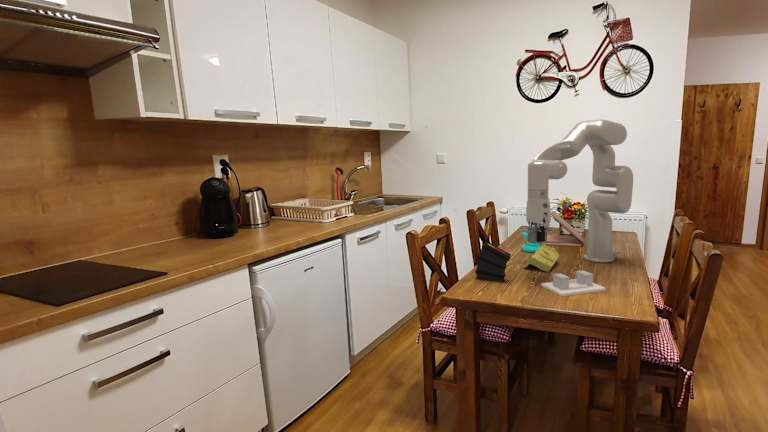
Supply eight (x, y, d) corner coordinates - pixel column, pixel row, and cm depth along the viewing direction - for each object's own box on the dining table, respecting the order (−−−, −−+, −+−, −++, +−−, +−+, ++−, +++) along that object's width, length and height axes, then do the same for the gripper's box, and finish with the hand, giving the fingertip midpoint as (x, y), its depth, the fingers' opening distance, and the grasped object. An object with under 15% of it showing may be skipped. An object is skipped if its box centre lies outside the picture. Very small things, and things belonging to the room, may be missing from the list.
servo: (546, 239, 165) (546, 222, 164) (552, 241, 161) (553, 224, 160) (521, 242, 163) (521, 224, 162) (527, 244, 159) (527, 226, 158)
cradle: (582, 280, 160) (582, 267, 159) (605, 290, 149) (606, 276, 148) (541, 285, 156) (541, 272, 155) (561, 296, 145) (562, 281, 144)
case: (584, 247, 211) (585, 216, 209) (540, 245, 219) (541, 215, 216) (580, 239, 230) (582, 210, 228) (540, 237, 238) (541, 209, 235)
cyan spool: (546, 230, 207) (541, 234, 199) (545, 249, 209) (540, 254, 200) (525, 228, 213) (520, 232, 204) (525, 247, 214) (520, 252, 206)
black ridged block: (470, 271, 171) (486, 240, 166) (499, 288, 167) (516, 257, 162) (467, 274, 168) (483, 243, 163) (497, 291, 164) (514, 259, 159)
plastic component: (551, 267, 171) (528, 255, 175) (542, 281, 174) (521, 269, 178) (561, 253, 187) (540, 242, 191) (553, 266, 190) (533, 255, 194)
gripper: (560, 195, 152) (559, 243, 155) (533, 191, 168) (533, 235, 171) (542, 197, 150) (541, 245, 153) (517, 192, 166) (517, 236, 169)
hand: (537, 239), depth 162 cm, fingers closed on servo, 4 cm apart
